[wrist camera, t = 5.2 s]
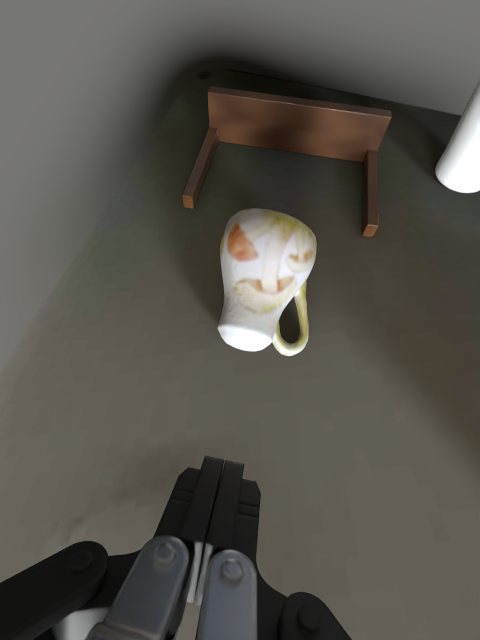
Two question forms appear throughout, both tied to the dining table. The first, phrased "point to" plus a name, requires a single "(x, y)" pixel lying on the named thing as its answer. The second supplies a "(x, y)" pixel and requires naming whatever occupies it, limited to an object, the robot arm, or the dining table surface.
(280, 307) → the mug
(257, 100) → the walnut rack
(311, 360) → the dining table surface
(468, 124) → the drinking glass
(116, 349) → the dining table surface
